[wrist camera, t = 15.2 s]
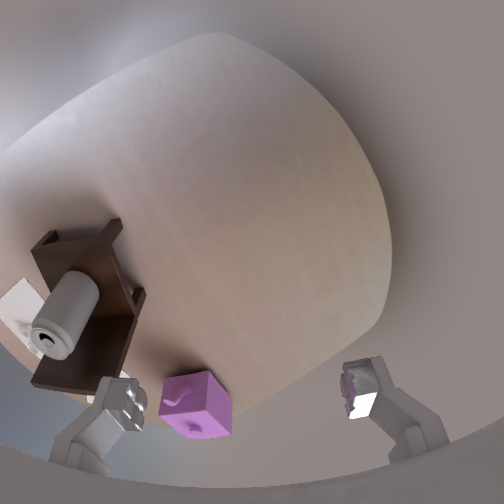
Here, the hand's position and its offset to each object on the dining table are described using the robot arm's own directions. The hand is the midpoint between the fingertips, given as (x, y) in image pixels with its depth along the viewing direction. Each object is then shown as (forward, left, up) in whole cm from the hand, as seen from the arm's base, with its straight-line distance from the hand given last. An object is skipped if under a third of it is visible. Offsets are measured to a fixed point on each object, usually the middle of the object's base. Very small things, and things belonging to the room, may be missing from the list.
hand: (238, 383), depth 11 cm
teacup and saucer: (+26, -49, -31) cm, 64 cm away
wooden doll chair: (+12, -25, -31) cm, 42 cm away
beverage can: (+12, -25, -25) cm, 37 cm away
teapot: (+43, -15, -31) cm, 55 cm away
